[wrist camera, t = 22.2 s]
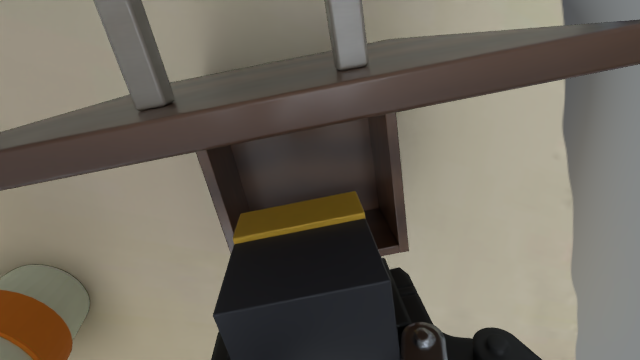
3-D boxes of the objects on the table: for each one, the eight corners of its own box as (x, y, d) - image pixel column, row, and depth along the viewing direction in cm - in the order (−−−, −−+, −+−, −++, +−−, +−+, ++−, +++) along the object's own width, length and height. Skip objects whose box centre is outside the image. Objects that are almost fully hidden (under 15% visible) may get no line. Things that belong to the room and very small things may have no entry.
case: (385, 209, 36) (409, 251, 29) (251, 235, 36) (241, 284, 29) (366, 44, 29) (389, 44, 22) (202, 76, 29) (173, 87, 22)
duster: (379, 341, 16) (414, 464, 11) (285, 359, 16) (282, 489, 11) (355, 190, 13) (390, 273, 8) (240, 213, 13) (209, 309, 8)
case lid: (663, 60, 6) (757, -423, 4) (-160, 223, 6) (-493, -174, 4) (392, 50, 22) (383, -44, 20) (173, 93, 22) (142, 4, 20)
